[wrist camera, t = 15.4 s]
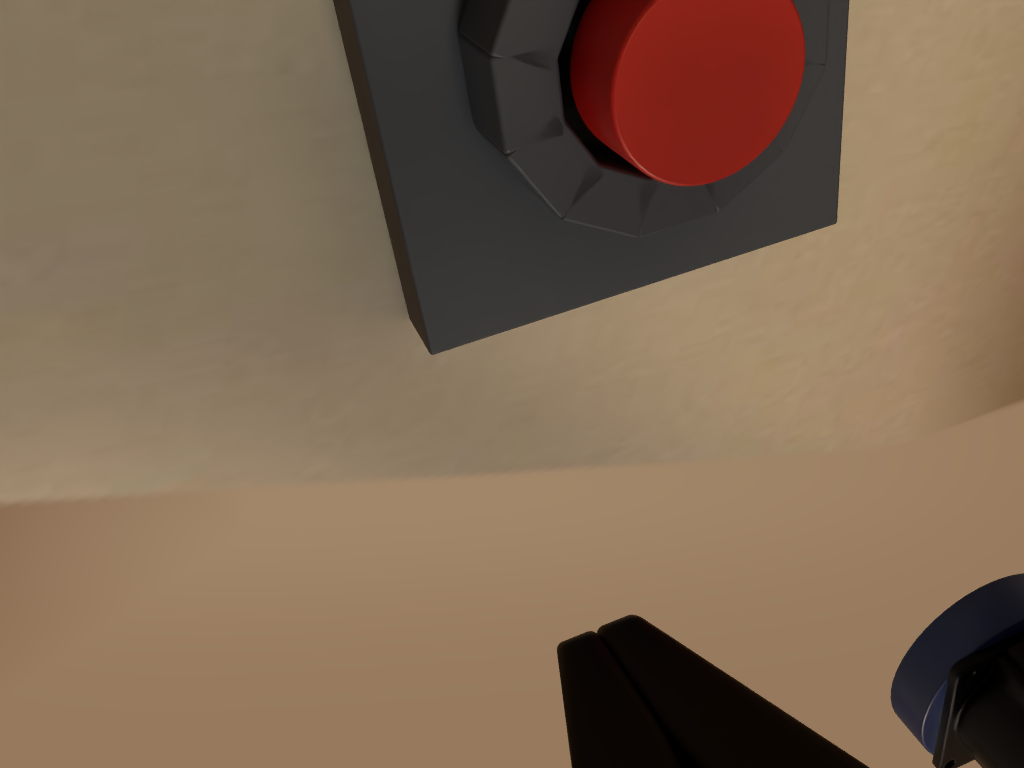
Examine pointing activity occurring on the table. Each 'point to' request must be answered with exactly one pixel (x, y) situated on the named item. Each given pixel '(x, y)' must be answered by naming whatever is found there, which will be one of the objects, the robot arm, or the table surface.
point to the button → (687, 81)
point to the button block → (555, 165)
